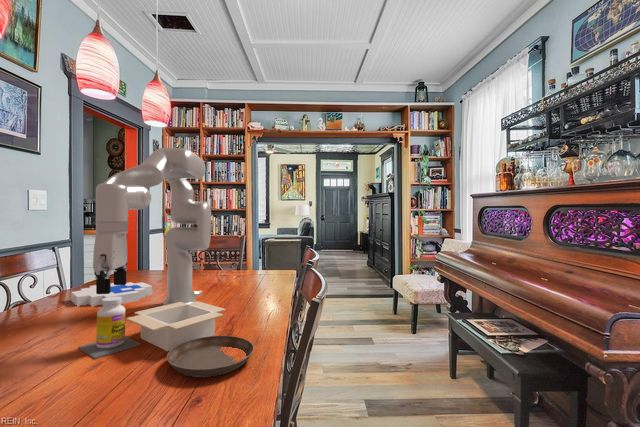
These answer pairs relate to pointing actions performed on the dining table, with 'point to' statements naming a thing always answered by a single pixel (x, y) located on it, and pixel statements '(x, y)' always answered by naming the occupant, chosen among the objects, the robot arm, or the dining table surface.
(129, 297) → the pixel art tile
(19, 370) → the dining table surface
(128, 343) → the coaster mat
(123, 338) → the supplement bottle
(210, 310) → the carton
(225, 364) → the plant saucer
